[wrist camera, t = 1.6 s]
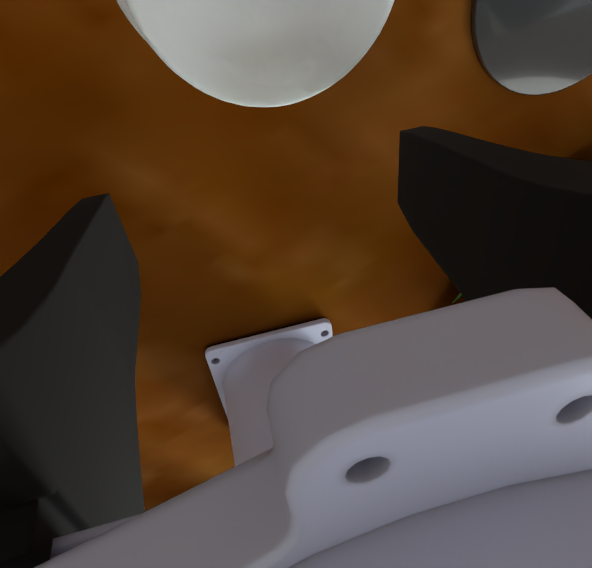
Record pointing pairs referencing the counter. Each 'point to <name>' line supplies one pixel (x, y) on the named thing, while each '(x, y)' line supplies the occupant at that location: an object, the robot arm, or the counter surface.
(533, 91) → the coaster
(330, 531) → the robot arm
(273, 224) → the counter surface
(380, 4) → the pill bottle
